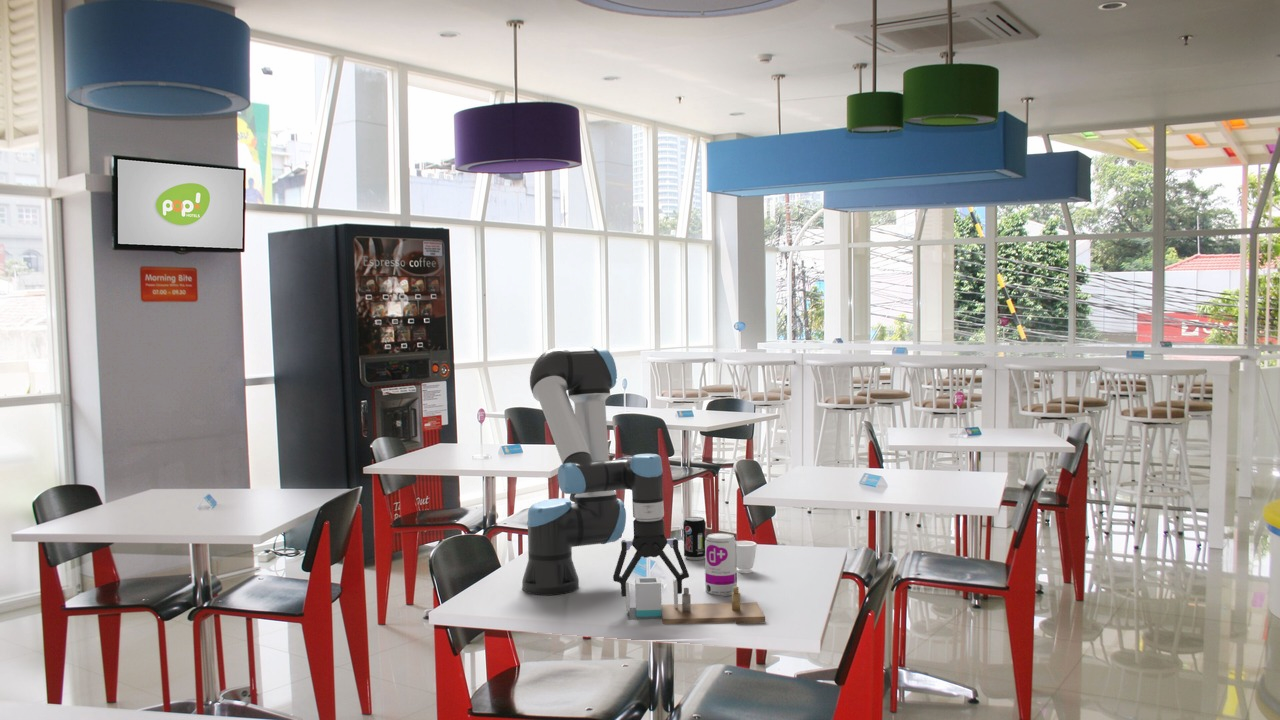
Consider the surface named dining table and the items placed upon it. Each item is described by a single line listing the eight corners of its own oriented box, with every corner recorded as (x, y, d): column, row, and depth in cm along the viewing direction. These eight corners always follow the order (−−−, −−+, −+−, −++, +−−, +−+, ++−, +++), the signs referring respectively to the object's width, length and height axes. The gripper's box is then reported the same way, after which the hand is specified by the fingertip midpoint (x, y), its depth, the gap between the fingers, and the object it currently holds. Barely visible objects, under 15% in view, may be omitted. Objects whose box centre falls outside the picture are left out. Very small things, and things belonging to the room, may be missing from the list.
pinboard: (663, 625, 230) (662, 595, 229) (660, 610, 242) (659, 582, 241) (765, 622, 231) (765, 593, 230) (757, 608, 243) (756, 580, 242)
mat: (628, 621, 233) (628, 619, 233) (627, 609, 243) (627, 607, 243) (670, 620, 234) (670, 618, 234) (667, 608, 244) (667, 606, 244)
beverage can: (706, 560, 293) (706, 520, 292) (684, 560, 293) (683, 520, 292) (705, 555, 299) (705, 516, 299) (683, 555, 300) (683, 516, 299)
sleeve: (636, 617, 235) (636, 583, 235) (635, 609, 241) (635, 577, 241) (661, 616, 236) (661, 583, 235) (660, 609, 242) (659, 576, 241)
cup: (755, 575, 275) (755, 546, 275) (720, 573, 277) (719, 545, 277) (758, 568, 282) (758, 541, 282) (723, 567, 284) (723, 539, 284)
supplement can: (728, 598, 252) (727, 540, 251) (699, 594, 256) (699, 537, 256) (742, 591, 259) (741, 534, 258) (714, 587, 263) (713, 531, 262)
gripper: (600, 523, 233) (604, 615, 234) (698, 519, 235) (701, 610, 235) (600, 517, 241) (603, 606, 242) (695, 513, 242) (698, 601, 243)
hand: (652, 608), depth 238 cm, fingers open, 11 cm apart
